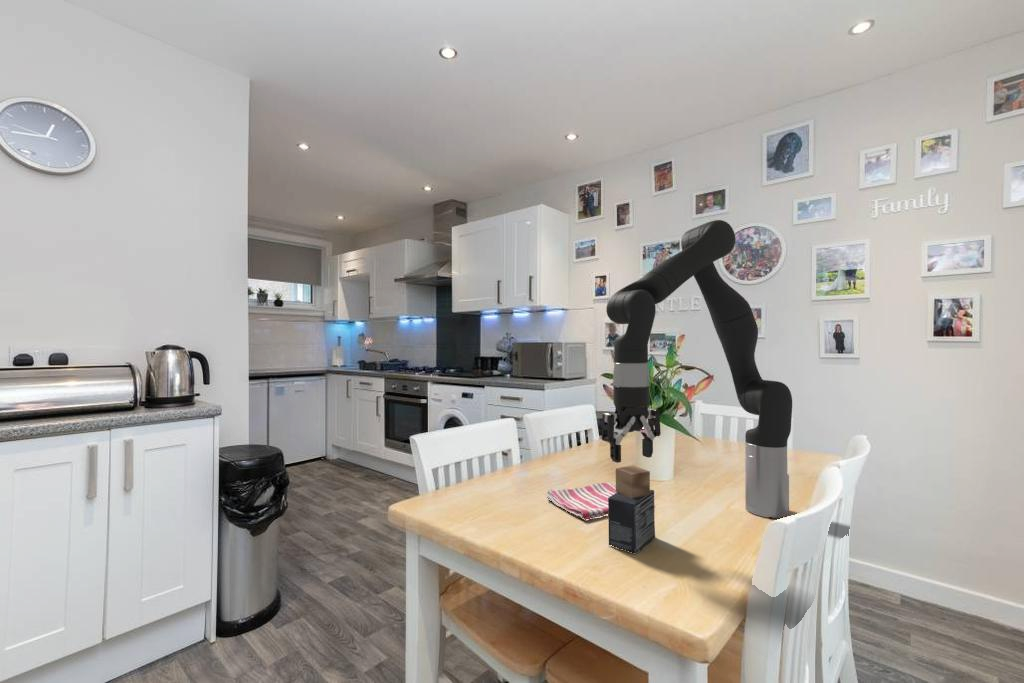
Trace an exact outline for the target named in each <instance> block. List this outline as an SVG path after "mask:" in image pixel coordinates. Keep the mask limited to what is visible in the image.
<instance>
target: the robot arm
mask: <svg viewBox="0 0 1024 683" xmlns="http://www.w3.org/2000/svg"><path fill="white" fill-rule="evenodd" d="M680 244H681V245H680V247H681V251H679V252H677V253H675V254H674V255H673V256H670V257H668V258H667V259H665V260H664V261H662V262H660V263H658V264H657V265H656V266H655V267H653V268H652V269H651V270H649V271H648V272H647V273H646V274H644V275H643V276H642V277H641V278H640V279H638V280H635V281H634V282H632V283H630V284H628V285H626V286H624V287H623V288H621V289H619V290H617V291H615V293H614V294H613V295H611V297H609V299H608V301H607V304H606V314H607V317H608V318H609V320H610V321H611V322H613V323H615V324H619V325H627V326H626V327H627V328H626V330H625V333H624V334H621V335H619V336H617V337H616V338H615V339H614V346H613V349H614V350H613V358H614V359H613V361H614V363H613V370H612V371H613V372H612V373H613V374H612V377H613V378H612V379H613V380H612V384H613V386H612V387H613V388H612V390H613V393H612V394H613V396H612V397H613V405H614V407H615V409H614V412H613V413H610V412H603V413H602V415H601V417H602V418H601V420H602V421H601V441H603V442H606V443H609V454H610V455H609V456H610V459H611V460H612V462H614V463H617V464H618V463H621V461H622V445H621V443H622V441H623V439H624V437H626V436H627V434H628V433H634V432H638V433H640V435H641V437H642V438H641V440H642V441H641V445H642V446H641V448H642V450H641V451H642V452H641V453H642V456H643V457H645V458H652V457H653V453H654V440H655V438H657V437H660V436H661V433H662V432H661V418H660V417H661V416H660V415H661V414H660V409H658V408H653V407H649V406H650V403H651V400H650V398H651V396H650V395H651V394H650V368H649V354H648V353H649V348H648V347H649V340H650V337H651V333H652V329H653V325H654V322H655V317H656V312H657V310H656V308H657V306H656V305H657V304H660V303H661V302H663V301H665V300H666V299H667V298H668V297H670V296H671V295H672V294H673V293H674V292H676V290H677V289H679V288H680V287H681V286H683V284H685V282H687V281H688V280H690V279H691V278H692V277H694V279H695V281H696V282H695V283H696V284H697V285H698V288H699V290H700V293H701V295H702V297H703V300H704V301H705V304H706V306H707V310H708V312H709V315H710V318H711V322H712V324H713V327H714V330H715V332H716V334H717V336H718V339H719V342H720V344H721V347H722V349H723V353H724V355H725V358H726V361H727V364H728V367H729V370H730V374H731V377H732V381H733V384H734V389H735V393H736V397H737V400H738V403H739V404H740V406H741V407H742V409H743V411H745V412H746V413H749V414H751V415H755V416H758V422H757V426H756V427H754V428H749V429H746V431H745V434H744V435H745V436H744V437H745V439H744V440H745V443H744V445H745V447H744V448H745V451H744V452H745V454H744V455H745V458H744V461H745V462H744V464H745V480H744V481H745V483H744V484H745V497H744V498H745V509H746V511H748V512H749V513H751V514H753V515H756V516H759V517H764V518H769V517H772V518H771V519H782V518H781V517H784V518H786V517H788V513H790V475H789V473H788V440H789V437H790V435H791V432H792V418H793V397H792V393H791V389H790V388H789V386H787V384H785V383H784V382H782V381H776V380H769V379H763V378H762V376H761V375H760V372H759V369H758V367H757V363H756V358H755V356H756V355H755V353H756V348H757V343H758V336H759V328H758V324H757V321H756V319H755V316H754V312H753V310H752V308H751V306H750V304H749V302H748V300H746V299H745V297H743V295H741V294H740V293H739V292H738V291H737V290H735V289H734V288H733V287H732V286H731V285H729V284H728V283H727V282H726V281H725V280H724V279H723V278H722V276H721V275H720V274H719V272H718V270H717V268H716V265H715V261H717V260H719V259H722V258H723V257H726V256H727V255H729V254H731V252H732V251H733V249H734V248H735V244H736V233H735V232H734V229H733V227H732V225H731V224H730V223H728V222H727V221H726V220H722V219H715V220H711V221H708V222H706V223H703V224H700V225H698V226H696V227H694V228H691V229H689V230H687V231H685V232H684V233H683V234H682V236H681V241H680ZM785 516H786V517H785Z"/></svg>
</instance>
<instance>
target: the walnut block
mask: <svg viewBox="0 0 1024 683" xmlns="http://www.w3.org/2000/svg"><path fill="white" fill-rule="evenodd" d="M650 475H651V471H650V470H648V469H644V468H641V467H638V466H636V465H627V466H622V467H617V468H615V486H616V492H618V493H620V494H623V495H625V496H627V497H629V498H637V497H642V496H647V495H650V490H651V488H650V487H651V484H650V483H651V480H650V479H651V478H650V477H651V476H650Z"/></svg>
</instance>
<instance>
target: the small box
mask: <svg viewBox="0 0 1024 683" xmlns="http://www.w3.org/2000/svg"><path fill="white" fill-rule="evenodd" d="M607 517H608V546H609V545H612V546H614V547H617V548H619V549H623V550H626V551H629V552H632V553H637V552H638V551H639V550H640V551H642V550H643V549H644V548H645V547H646V546H647V545H649V544H650V542H652V541H653V540H654V539H655V538H656V529H655V528H656V527H655V526H656V525H655V490H653V489H650V495H647V496H642V497H637V498H629V497H627V496H625V495H623V494H620V493H618V492H617V493H615V494H614V495H612V496H610V497H609V498H608V516H607ZM652 539H653V540H652ZM651 540H652V541H651ZM646 544H647V545H646ZM645 545H646V546H645ZM644 546H645V547H644ZM643 547H644V548H643ZM642 548H643V549H642ZM619 549H618V550H619ZM640 551H639V552H640ZM639 552H638V553H639ZM638 553H637V554H638Z"/></svg>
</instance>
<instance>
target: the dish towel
mask: <svg viewBox="0 0 1024 683" xmlns="http://www.w3.org/2000/svg"><path fill="white" fill-rule="evenodd" d="M615 493H617V492H616V484H615V485H614V484H613V483H610V482H596V483H593V484H589V485H586V486H583V487H582V486H581V487H575V488H572V489H571V488H570V489H568V488H564V489H555V490H553V489H548V491H547V492H546V499H547V498H548V499H550V500H551V501H552V502H553V503H555V504H557V505H559V506H560V507H561V508H563V509H565V510H567V511H569V512H570V513H569V514H571V513H573V514H575V515H576V516H575V515H574V516H575V517H578V516H579V517H578V518H580V517H582V518H584V519H585V520H586V519H590V518H595V517H600V516H604V515H606V514H608V498H609V497H610V496H612V495H614V494H615ZM548 499H547V500H548ZM576 499H577V500H579V501H576ZM571 500H575V501H571ZM552 502H551V503H552ZM553 503H552V504H553ZM561 508H560V509H561ZM563 509H562V510H563ZM565 510H564V511H565ZM567 511H566V512H567ZM573 514H572V515H573ZM582 518H581V519H582ZM585 520H584V521H585ZM590 520H591V519H590Z"/></svg>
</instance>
